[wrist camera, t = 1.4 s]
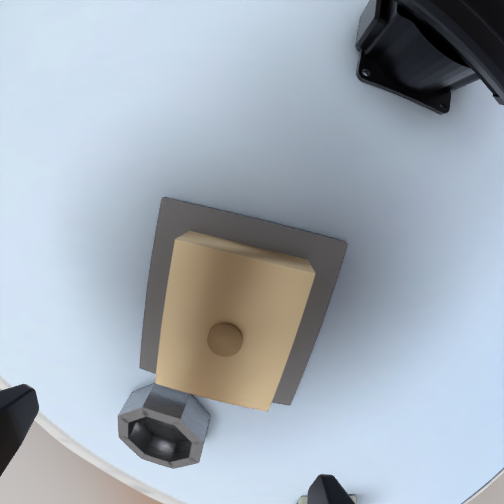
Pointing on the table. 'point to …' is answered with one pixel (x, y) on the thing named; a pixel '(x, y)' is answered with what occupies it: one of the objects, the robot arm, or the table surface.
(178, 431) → the bowl
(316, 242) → the mat
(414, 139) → the table surface
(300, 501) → the skincare box
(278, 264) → the lid
